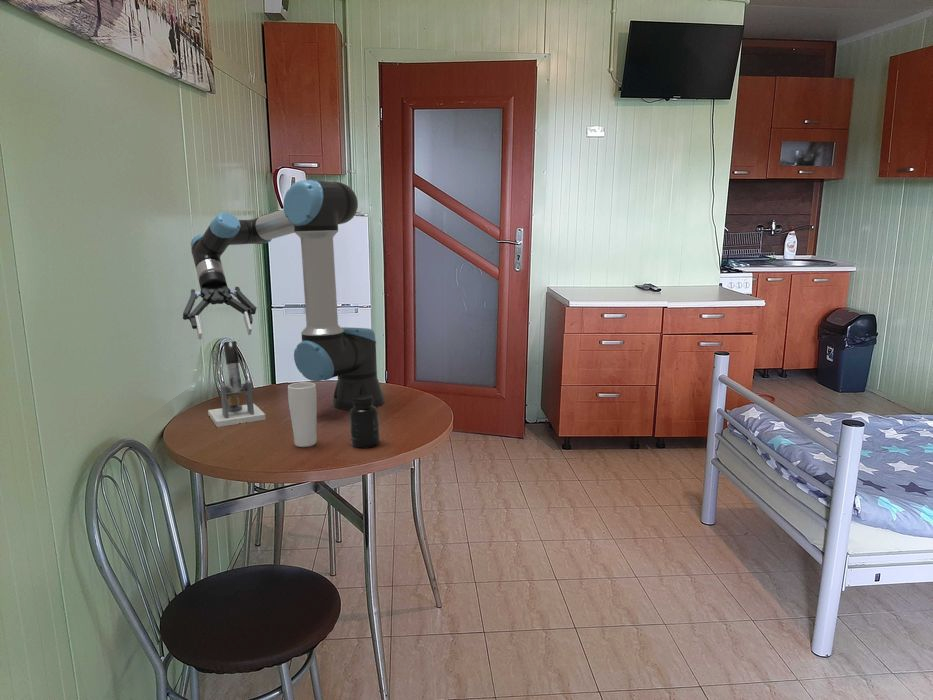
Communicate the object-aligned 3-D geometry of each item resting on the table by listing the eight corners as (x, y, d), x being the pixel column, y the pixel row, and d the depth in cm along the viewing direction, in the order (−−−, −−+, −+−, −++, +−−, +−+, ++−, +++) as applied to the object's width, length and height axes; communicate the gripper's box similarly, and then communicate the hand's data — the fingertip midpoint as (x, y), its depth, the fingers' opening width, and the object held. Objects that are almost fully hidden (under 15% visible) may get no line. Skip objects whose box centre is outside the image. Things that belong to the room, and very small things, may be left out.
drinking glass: (324, 445, 167) (320, 385, 164) (297, 450, 163) (293, 389, 160) (313, 438, 172) (309, 380, 170) (287, 443, 169) (283, 384, 166)
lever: (222, 395, 194) (215, 346, 195) (241, 392, 197) (234, 344, 198) (227, 393, 186) (221, 342, 187) (247, 390, 188) (240, 340, 189)
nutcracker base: (208, 415, 196) (205, 379, 194) (254, 408, 202) (251, 373, 200) (217, 427, 184) (213, 389, 182) (265, 419, 190) (262, 383, 188)
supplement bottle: (370, 438, 172) (368, 391, 169) (384, 444, 166) (382, 396, 164) (346, 443, 167) (343, 396, 165) (360, 450, 162) (357, 401, 160)
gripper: (252, 284, 213) (268, 337, 203) (166, 289, 201) (178, 346, 191) (255, 267, 208) (271, 322, 197) (166, 272, 196) (178, 330, 185)
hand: (225, 334), depth 194 cm, fingers open, 13 cm apart
